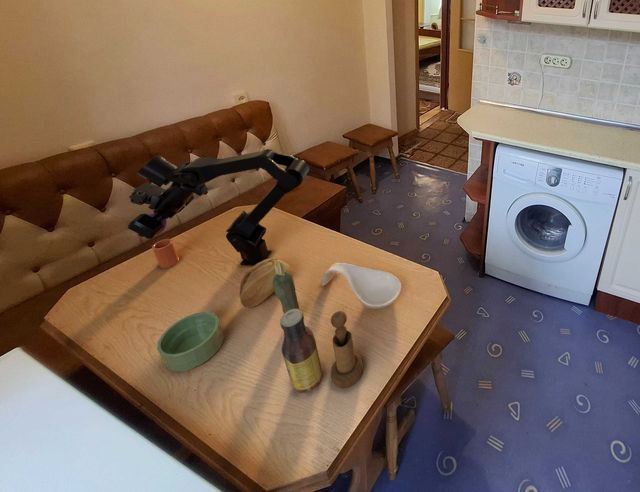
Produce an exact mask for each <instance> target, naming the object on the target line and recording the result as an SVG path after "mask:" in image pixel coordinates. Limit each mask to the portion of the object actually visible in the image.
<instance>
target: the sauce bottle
mask: <svg viewBox="0 0 640 492" xmlns="http://www.w3.org/2000/svg"><path fill="white" fill-rule="evenodd" d="M279 323H280V327H281V329H282V330H283V336H284V337H283V341H282V344H281V355H282V358H283V361H284V363H285V367H286V370H287V374H288V377H289V381H290V383H291V386H292V387H293V389H294V390H295V391H296V392H299V393H300V394H301V393H302V394H305V393H308V392H310V391H313V390H314V389H316V388H317V387H318V386H319V384H320V382H321V381H322V378H323V374H324V373H323V365H322V361H321V357H320V352H319V348H318V343H317V340H316V337H315V334H314V332H313V330H312V329H311V328H309V327H308V326H306V324H305V317H304V312H303V311H302V310H301V309H300V308H299V309H291V310H289V311H287V312H286V313H285V314H284V313H283V315H281V317H280V320H279Z"/></svg>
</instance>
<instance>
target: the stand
mask: <svg viewBox="0 0 640 492" xmlns="http://www.w3.org/2000/svg"><path fill="white" fill-rule="evenodd" d="M151 249H152V252H153V254H154V256H155V259H156V261H157V263H158V266H159V267H160V268H161V269H168V268H170V267H174V266H175V265H177V264H178V263H179V261H180V257H179V254H178V252H177V250H176V249H177V248H176V247H175V243H174V242H173V240H172V239H170V238H164V239H160V240H158V241H156V242H155V243H154V244H152V246H151Z"/></svg>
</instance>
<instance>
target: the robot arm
mask: <svg viewBox="0 0 640 492" xmlns="http://www.w3.org/2000/svg"><path fill="white" fill-rule="evenodd" d="M280 166H284V167H285V168H281V167H280ZM258 169H261V170H264V171H265V172H266V173H267V174H269V175H270V177H271V178H273V179H274V180H276V183H275V184H274V185H273V187H272V188H271V189H270V190H269V191H268V192H267V193H266V194H265V195H264V196H263V198H262V199H261V200H260V201H259V202H258V203H257V204H256V205H255V206H254V207H253V209H252V210H250V211H249V212H246V211H245V210H242V212H241V213H240V214H239V215H238V216H237V217H236V218H234V221H233V222H232V223H231V224H230V225H229V226H228V228H227V229H226V230H225V232H226V235H225V238H226V240H227V241H228V243H229V244H230V245H231V246H232V247H233V249H234V250H235V251H236V252H237V253H239V254H240V259H241V262H240V263H239V264H240V266H249V267H253V266H255V265H256V264H257V263H259V262H261V261H263V260H266V259H269V256H270V255H271V254H272V250H270V249H268V246H267V242H266V238H264V236H265V235H266V233H267V227H265V226H264V225H262V224H260V222H261V221H262V220H263V219H265V217H266V216H267V215H268V213H269V212H270V211H272V210H273V208H274V207H275V206H276V205H277V204H278V203H279V202H280V201H281V199H283V198H284V197H285V195H287V194H288V193H291V192H293V191H294V190H296V189H297V188H298V187H300V186H301V185H302V183H303V182H304V180H305V178H306V177H307V175H308V174H309V171H310V167H309V164H308V163H307V162H306V161H304V160H302V159H298V158H296V157H294V156H293V155H290V154H285V153H280V152H277V151H275V150H273V149H270V148H266V149H263V150H260V151H254V152H250V153H244V154H239V155H234V156H229V157H223V158H216V157H209V156H207V157H196V159H194V160H192V161H185V162H182V163H181V164H179V165H178V166H176V165H174V164H172V163H171V162H169V161H167V160H166V159H165V158H164V157H162V156H161V155H159V154H158V155H156V156H154V157H152V158H151V160H149V162H147V163H146V164H145V165H144V166H142V167H141V168H140V169H139V170H138V172H137V173H136V174H137V175H138V176H140V177H142V178H143V179H145V180H147V181H148V182H144V183H142V184H140V185H139V186H137V187H136V188H134V189H133V192H131V195H129V196H128V198H129V199H130V203H132V204H134V205H138V206H143V205H144V204H145V205H148V206H147V208H148V209H150V210H152V213H155V214H156V213H157V214H156V215H155V216H154V217H151V216H149V215H147V214H148V213H140V214H139V215H138V216H136V217H134V218H133V220H132V221H130V223H129V224H128V225H127V229H128V230H129V231H132V232H134V233H136V234H137V236H139V237H141V238H145V239H148V240H152V239H153V238H154V237H156V236H157V235H158V234H157V233H158V232H159V231H160V230H161V229H162V228H163V227H164V226H163V222H162V221H163V220H164V219H166V220H167V219H173V218H174V217H175V215H177V214H179V213H181V212H182V211H183V210H184V209H185V208H186V207H187V206H189V204H191V203H192V202H193V200H194V199H195V195H197V196H199V197H201V196H203V194H205V193H206V192H207V191H208V190H209V189H208V186H207V185H206V183H209V182H210V181H212V180H214V179H217V178H219V177H222V176H226V175H232V174H237V173H242V172H243V173H244V172H247V171H253V170H258ZM149 182H150V183H149ZM170 183H171V184H170ZM169 184H170V185H169ZM163 185H164V186H168V185H169V186H168V187H167V188H163V187H162V186H163ZM194 194H195V195H194ZM160 216H162V217H160ZM159 217H160V218H159ZM158 218H159V219H158ZM157 219H158V220H157ZM156 234H157V235H156Z"/></svg>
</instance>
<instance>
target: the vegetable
mask: <svg viewBox="0 0 640 492" xmlns="http://www.w3.org/2000/svg"><path fill="white" fill-rule="evenodd" d="M274 264H275V271H276V275H275V276H274V278H273V288H274V293H275V295H276V297H277V299H278V300H279V301H280V304H281V308H282V313H283V315H284V314H285V313H286V312H287V311H289V310H291V309H299V310H300V305H299V301H298V295H297V292H296V287H295V281H294V279H293V275H292V273H291V274H290V273H289V272H287V271H285V269H284V265H283V264H282V263H281V262H278V261H277V260H274V261H272V262H271V265H272V266H273V265H274Z"/></svg>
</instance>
